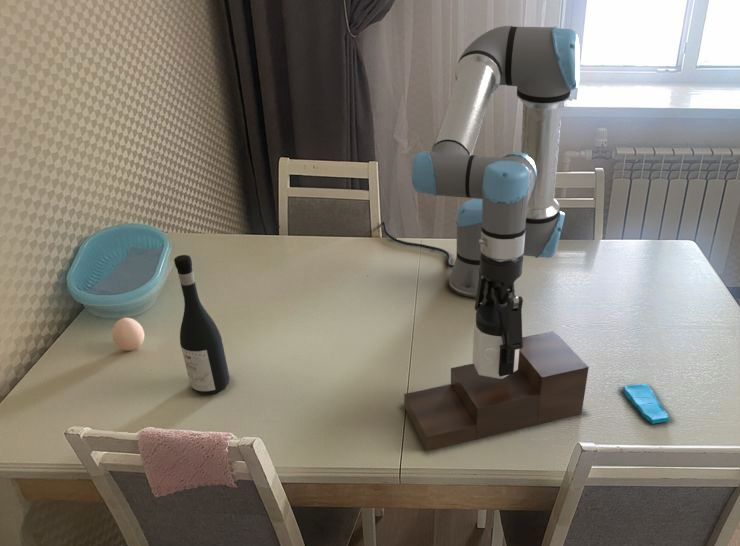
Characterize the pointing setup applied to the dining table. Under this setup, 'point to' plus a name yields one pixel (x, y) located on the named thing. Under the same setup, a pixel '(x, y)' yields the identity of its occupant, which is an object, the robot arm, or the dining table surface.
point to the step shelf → (502, 396)
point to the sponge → (646, 402)
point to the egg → (128, 334)
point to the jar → (488, 342)
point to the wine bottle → (200, 338)
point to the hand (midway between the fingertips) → (495, 360)
